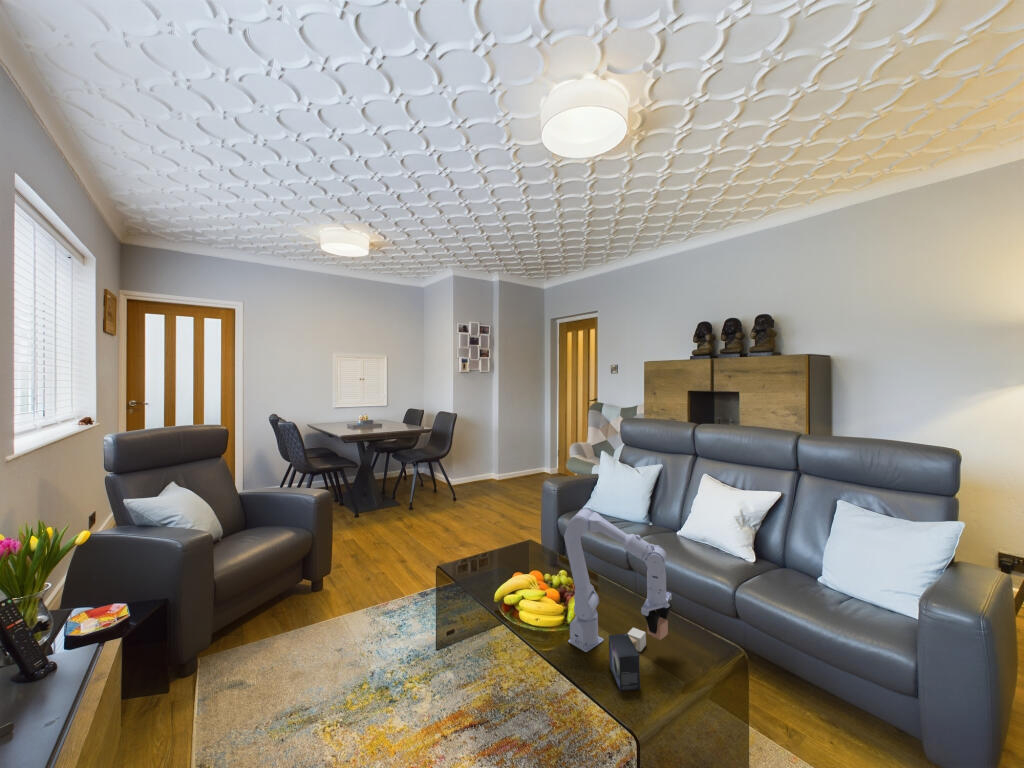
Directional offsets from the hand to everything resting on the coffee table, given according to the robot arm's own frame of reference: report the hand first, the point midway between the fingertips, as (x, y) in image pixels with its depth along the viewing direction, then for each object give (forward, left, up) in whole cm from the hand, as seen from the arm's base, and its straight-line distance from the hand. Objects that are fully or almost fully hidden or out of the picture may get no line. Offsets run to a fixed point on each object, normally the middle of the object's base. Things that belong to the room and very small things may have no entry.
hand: (657, 628), depth 142 cm
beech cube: (-5, +8, -10) cm, 13 cm away
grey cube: (+1, +8, -10) cm, 12 cm away
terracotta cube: (0, 0, -2) cm, 2 cm away
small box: (-15, +2, -10) cm, 18 cm away
